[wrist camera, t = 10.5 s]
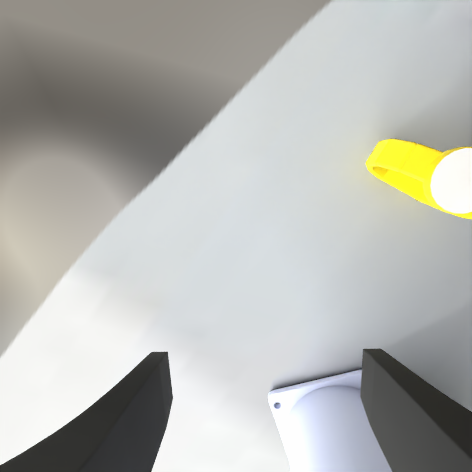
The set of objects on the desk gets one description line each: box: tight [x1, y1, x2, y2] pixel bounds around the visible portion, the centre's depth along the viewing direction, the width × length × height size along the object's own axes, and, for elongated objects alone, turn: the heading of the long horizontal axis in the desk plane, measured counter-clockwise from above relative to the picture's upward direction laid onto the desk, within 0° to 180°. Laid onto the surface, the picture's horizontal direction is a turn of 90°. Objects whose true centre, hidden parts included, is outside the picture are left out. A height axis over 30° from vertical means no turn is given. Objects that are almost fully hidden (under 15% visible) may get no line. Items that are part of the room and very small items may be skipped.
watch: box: [366, 139, 472, 219], centre depth 16 cm, size 6×3×6 cm, turn 62°
